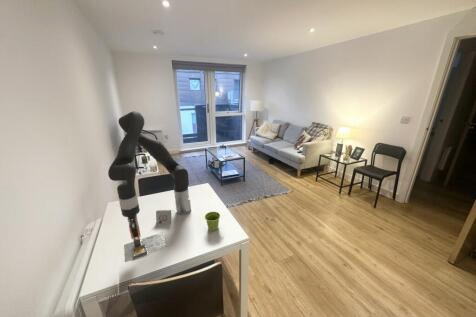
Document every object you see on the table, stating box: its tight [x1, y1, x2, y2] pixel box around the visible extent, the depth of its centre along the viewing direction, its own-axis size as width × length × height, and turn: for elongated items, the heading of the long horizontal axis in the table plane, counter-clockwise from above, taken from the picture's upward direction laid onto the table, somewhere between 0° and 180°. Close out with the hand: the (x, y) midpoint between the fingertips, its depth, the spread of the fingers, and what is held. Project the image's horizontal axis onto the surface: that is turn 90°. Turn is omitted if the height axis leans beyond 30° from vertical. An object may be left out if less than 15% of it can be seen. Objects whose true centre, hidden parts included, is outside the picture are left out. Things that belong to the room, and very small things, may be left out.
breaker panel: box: [123, 232, 168, 263], centre depth 107 cm, size 20×13×3 cm, turn 120°
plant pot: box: [204, 211, 221, 232], centre depth 121 cm, size 9×9×9 cm
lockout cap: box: [128, 219, 141, 240], centre depth 98 cm, size 4×4×8 cm
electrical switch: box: [155, 209, 172, 224], centre depth 126 cm, size 9×5×9 cm, turn 90°
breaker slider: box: [132, 236, 141, 247], centre depth 107 cm, size 3×4×5 cm
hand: (135, 233), depth 99 cm, fingers closed on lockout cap, 4 cm apart
